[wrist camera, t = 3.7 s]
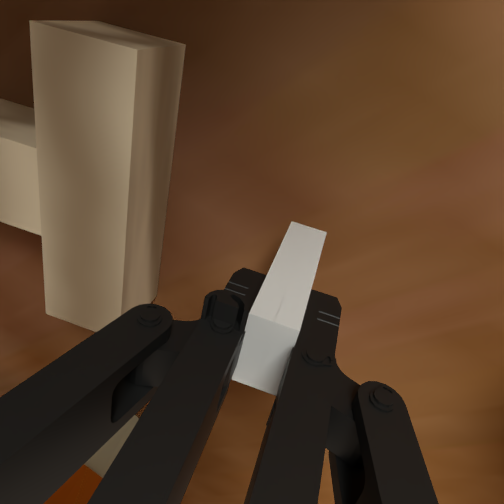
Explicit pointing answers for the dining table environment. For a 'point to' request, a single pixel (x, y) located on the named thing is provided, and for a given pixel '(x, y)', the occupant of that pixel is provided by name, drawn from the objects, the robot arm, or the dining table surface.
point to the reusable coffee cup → (92, 470)
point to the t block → (93, 164)
